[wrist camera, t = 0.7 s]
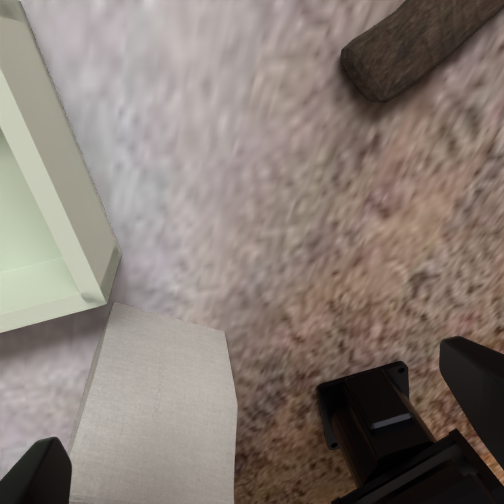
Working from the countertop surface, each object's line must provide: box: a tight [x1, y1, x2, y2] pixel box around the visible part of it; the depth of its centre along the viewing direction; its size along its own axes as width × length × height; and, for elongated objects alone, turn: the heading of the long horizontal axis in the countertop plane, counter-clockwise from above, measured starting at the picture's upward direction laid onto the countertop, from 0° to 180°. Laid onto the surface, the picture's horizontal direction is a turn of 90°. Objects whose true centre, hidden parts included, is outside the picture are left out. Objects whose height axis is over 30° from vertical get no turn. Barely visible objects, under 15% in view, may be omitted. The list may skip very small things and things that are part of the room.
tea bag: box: [68, 302, 238, 504], centre depth 20 cm, size 4×7×10 cm, turn 65°
